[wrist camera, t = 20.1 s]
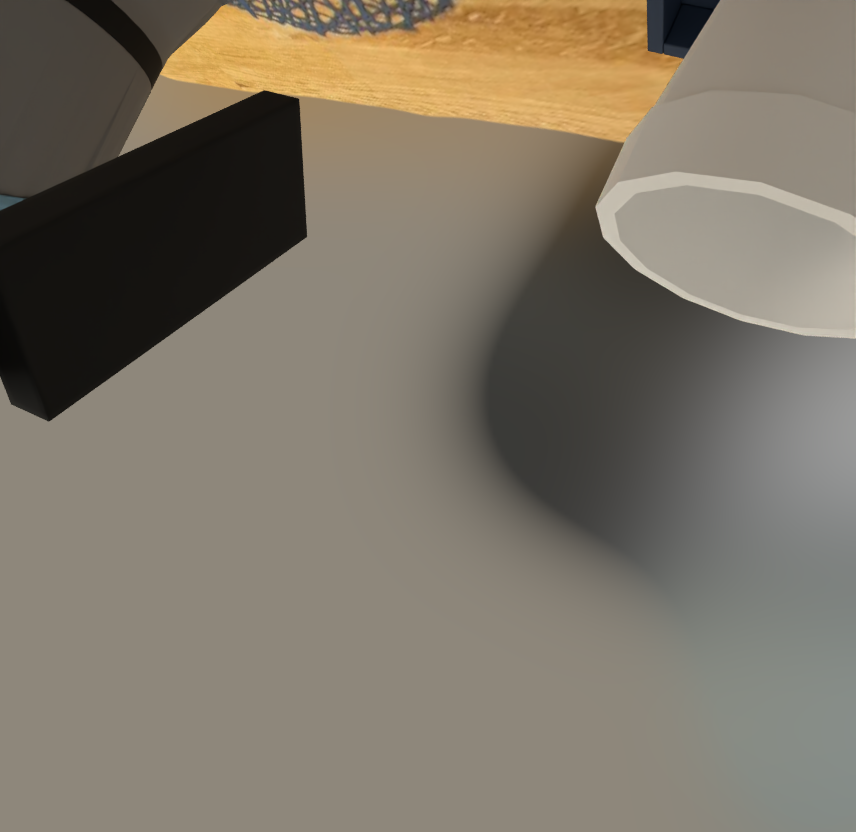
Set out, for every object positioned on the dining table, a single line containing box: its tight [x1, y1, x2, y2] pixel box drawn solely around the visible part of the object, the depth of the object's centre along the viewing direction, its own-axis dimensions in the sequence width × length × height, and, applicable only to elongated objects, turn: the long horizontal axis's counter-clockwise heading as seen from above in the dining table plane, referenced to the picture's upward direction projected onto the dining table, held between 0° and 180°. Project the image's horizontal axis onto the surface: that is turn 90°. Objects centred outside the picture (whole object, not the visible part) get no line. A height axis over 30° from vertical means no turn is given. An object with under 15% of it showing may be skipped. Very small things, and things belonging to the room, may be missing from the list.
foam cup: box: [595, 0, 856, 338], centre depth 23 cm, size 10×9×13 cm
